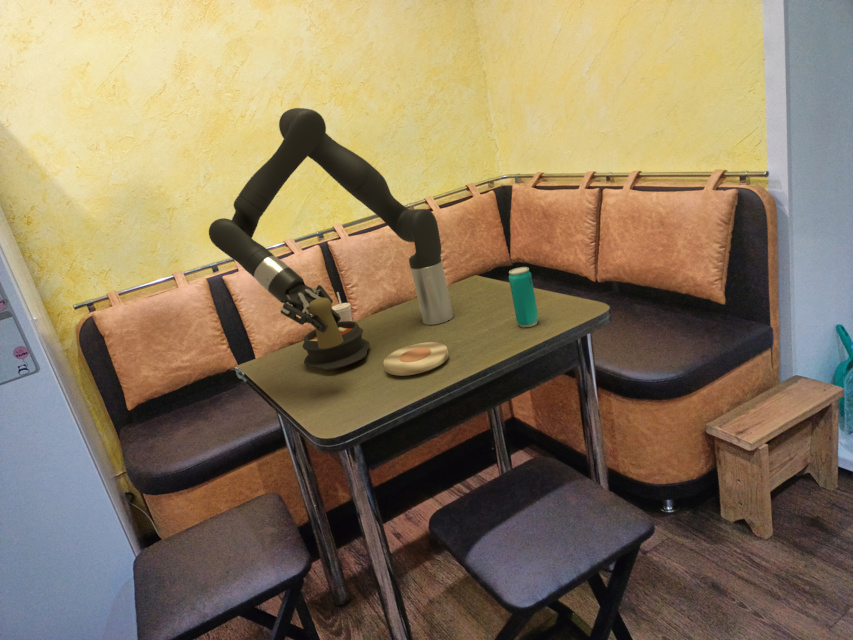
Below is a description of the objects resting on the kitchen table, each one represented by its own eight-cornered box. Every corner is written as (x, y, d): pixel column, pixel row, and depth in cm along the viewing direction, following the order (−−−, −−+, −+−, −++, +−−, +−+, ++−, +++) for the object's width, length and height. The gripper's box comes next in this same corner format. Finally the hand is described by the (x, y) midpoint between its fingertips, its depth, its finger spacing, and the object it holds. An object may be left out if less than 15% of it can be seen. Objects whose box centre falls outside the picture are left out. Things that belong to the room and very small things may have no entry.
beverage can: (539, 319, 160) (530, 265, 155) (539, 326, 154) (529, 271, 150) (518, 322, 161) (508, 269, 156) (517, 329, 156) (507, 274, 151)
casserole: (383, 359, 157) (375, 330, 154) (315, 383, 151) (306, 353, 149) (358, 337, 180) (351, 311, 177) (298, 357, 174) (290, 331, 172)
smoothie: (362, 331, 184) (350, 288, 180) (351, 339, 179) (339, 295, 175) (345, 332, 187) (333, 290, 183) (334, 340, 182) (321, 297, 178)
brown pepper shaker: (338, 346, 137) (325, 301, 133) (314, 350, 138) (301, 305, 135) (347, 336, 142) (334, 293, 139) (323, 340, 144) (311, 297, 140)
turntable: (396, 355, 158) (393, 345, 157) (454, 348, 153) (452, 338, 152) (377, 382, 143) (374, 371, 142) (441, 375, 138) (439, 364, 137)
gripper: (262, 277, 132) (319, 326, 130) (303, 258, 144) (356, 303, 141) (252, 300, 137) (307, 348, 134) (293, 280, 148) (344, 324, 146)
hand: (332, 325), depth 138 cm, fingers closed on brown pepper shaker, 4 cm apart
